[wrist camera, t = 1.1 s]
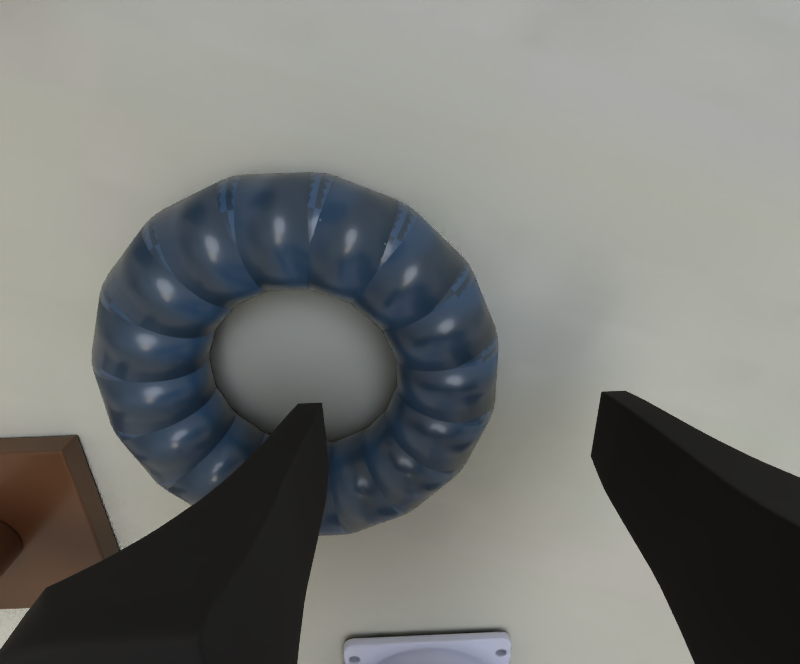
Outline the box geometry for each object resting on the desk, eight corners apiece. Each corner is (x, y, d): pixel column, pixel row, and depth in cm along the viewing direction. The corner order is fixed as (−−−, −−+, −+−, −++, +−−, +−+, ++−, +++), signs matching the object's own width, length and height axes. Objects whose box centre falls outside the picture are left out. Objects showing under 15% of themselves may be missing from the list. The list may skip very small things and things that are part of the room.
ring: (479, 484, 19) (495, 548, 17) (172, 497, 19) (134, 564, 16) (495, 161, 14) (523, 172, 12) (79, 174, 14) (1, 189, 11)
